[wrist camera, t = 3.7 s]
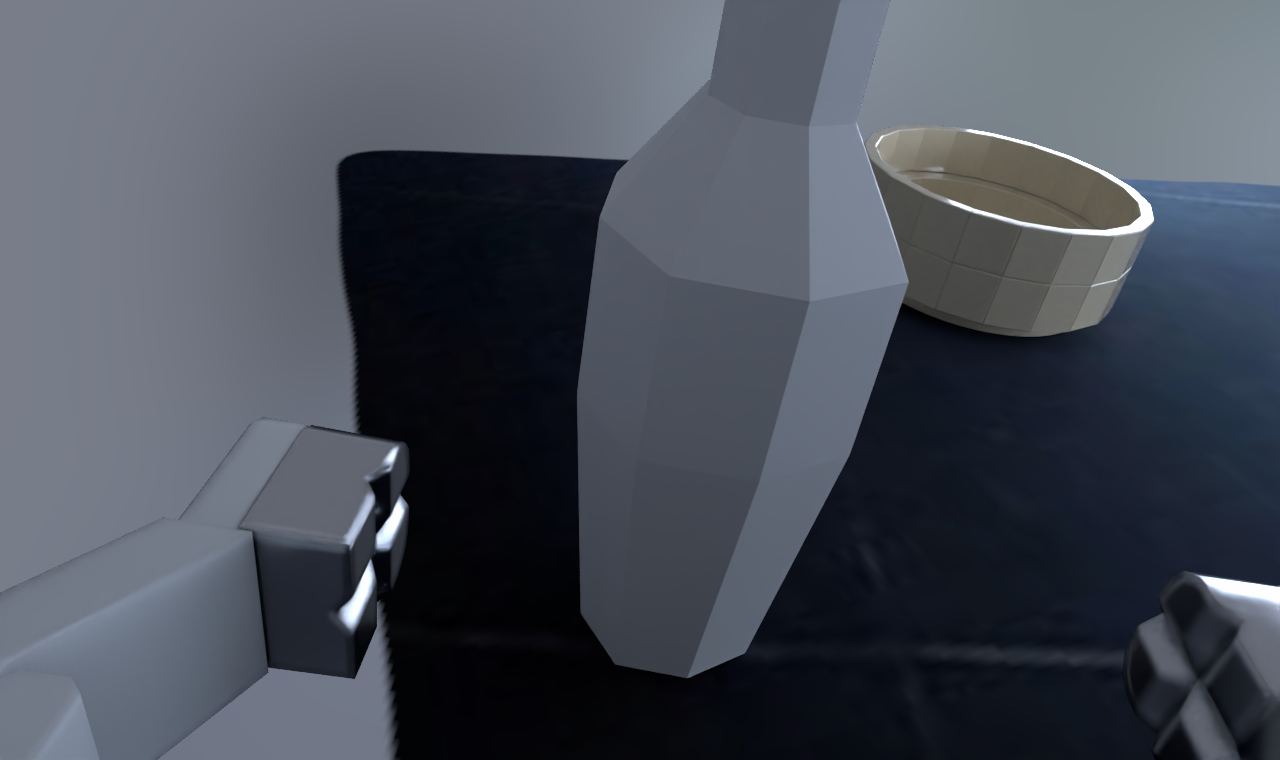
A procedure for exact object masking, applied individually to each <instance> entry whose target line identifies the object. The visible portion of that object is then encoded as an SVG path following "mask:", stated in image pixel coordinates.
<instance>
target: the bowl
mask: <svg viewBox="0 0 1280 760" xmlns="http://www.w3.org/2000/svg"><path fill="white" fill-rule="evenodd" d="M864 146H865V149H866V152H867V155H868V158H869V161H870V164H871V167H872V170H873V173H874V175H875V178H876V181H877V184H878V187H879V190H880V193H881V196H882V199H883V202H884V205H885V208H886V211H887V214H888V217H889V220H890V222H891V225H892V228H893V231H894V235H895V238H896V241H897V245H898V248H899V251H900V255H901V258H902V261H903V264H904V268H905V271H906V274H907V278H908V281H909V283H908V286H907V289H906V292H905V295H904V298H903V301H902V303H904V304H906V305H908V306H910V307H912V308H914V309H916V310H918V311H920V312H923V313H925V314H927V315H930V316H932V317H935V318H938V319H940V320H943V321H946V322H949V323H952V324H956V325H959V326H962V327H966V328H970V329H974V330H978V331H983V332H988V333H994V334H1001V335H1008V336H1022V337H1039V336H1049V335H1054V334H1059V333H1062V332H1070V331H1074V330H1078V329H1082V328H1085V327H1089V326H1093V325H1096V324H1098V323H1099V322H1100V321H1101V320H1102V319H1103V318H1104V317H1105V316H1106V315H1107V314H1108V313H1109V312H1110V310H1111V308H1112V306H1113V304H1114V302H1115V300H1116V298H1117V296H1118V294H1119V292H1120V290H1121V288H1122V286H1123V284H1124V282H1125V280H1126V278H1127V275H1128V273H1129V271H1130V269H1131V267H1132V265H1133V263H1134V261H1135V259H1136V257H1137V255H1138V253H1139V251H1140V249H1141V247H1142V245H1143V243H1144V241H1145V239H1146V237H1147V235H1148V232H1149V230H1150V228H1151V226H1152V224H1153V222H1154V217H1153V213H1152V209H1151V205H1150V204H1149V203H1148V202H1147V201H1146V200H1145V199H1144V198H1143V197H1142V196H1141V195H1140V194H1139V193H1138V192H1137V191H1136V190H1135V189H1133V188H1132V187H1130V186H1128V185H1127V184H1125V183H1123V182H1122V181H1120V180H1118V179H1117V178H1115V177H1113V176H1112V175H1110V174H1108V173H1107V172H1105V171H1102V170H1100V169H1098V168H1095V167H1093V166H1091V165H1089V164H1087V163H1084V162H1082V161H1080V160H1078V159H1075V158H1073V157H1070V156H1068V155H1065V154H1062V153H1059V152H1055V151H1053V150H1050V149H1047V148H1044V147H1041V146H1038V145H1035V144H1031V143H1028V142H1024V141H1020V140H1016V139H1012V138H1008V137H1005V136H1001V135H996V134H991V133H986V132H981V131H975V130H969V129H963V128H957V127H946V126H933V125H906V126H892V127H888V128H885V129H882V130H880V131H876V132H873V133H872V134H871V135H870V136H869V138H868V139H867V141H866V142H865V143H864Z"/></svg>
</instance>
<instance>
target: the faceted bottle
mask: <svg viewBox="0 0 1280 760" xmlns="http://www.w3.org/2000/svg"><path fill="white" fill-rule="evenodd" d="M889 2H890V0H725V4H724V9H723V15H722V20H721V25H720V31H719V36H718V42H717V47H716V53H715V58H714V64H713V70H712V75H711V79H710V80H709V81H708V82H707V83H706V84H705V85H704V86H703V87H702V88H701V89H700V90H699V91H698V92H697V93H696V94H695V95H694V96H693V97H692V98H691V99H690V100H689V101H688V102H687V103H686V104H685V105H684V106H683V107H682V108H681V109H680V110H679V111H678V112H677V113H676V114H675V115H674V116H673V117H672V118H671V119H670V120H669V121H668V122H667V123H666V124H665V125H664V126H663V127H662V128H661V129H660V130H659V131H658V132H657V133H656V134H655V135H654V136H653V137H652V138H651V139H650V140H649V141H648V142H647V143H646V144H645V145H644V146H643V147H642V148H641V149H640V150H639V151H638V152H637V153H636V154H635V155H634V156H633V157H632V158H631V159H630V160H629V161H628V162H627V163H626V164H625V165H624V166H623V167H622V168H621V169H620V170H619V171H618V172H617V173H616V176H615V179H614V181H613V184H612V186H611V189H610V192H609V194H608V197H607V199H606V202H605V205H604V207H603V210H602V212H601V215H600V218H599V226H598V234H597V242H596V250H595V258H594V265H593V273H592V281H591V289H590V297H589V305H588V312H587V320H586V328H585V336H584V344H583V352H582V359H581V367H580V375H579V383H578V391H577V410H578V475H579V539H580V604H581V614H582V616H583V617H584V619H585V620H586V622H587V623H588V625H589V626H590V628H591V629H592V631H593V632H594V634H595V635H596V637H597V638H598V640H599V641H600V642H601V644H602V645H603V647H604V648H605V650H606V651H607V653H608V654H609V656H610V657H611V659H612V660H613V662H614V663H615V665H620V666H626V667H631V668H636V669H642V670H647V671H652V672H658V673H663V674H668V675H674V676H679V677H684V678H689V677H691V676H694V675H696V674H698V673H700V672H703V671H705V670H707V669H710V668H712V667H714V666H717V665H719V664H721V663H723V662H726V661H728V660H730V659H733V658H735V657H737V656H740V655H742V654H744V653H745V652H746V650H747V648H748V646H749V645H750V643H751V641H752V639H753V637H754V635H755V633H756V631H757V629H758V627H759V626H760V624H761V622H762V620H763V618H764V616H765V614H766V612H767V610H768V608H769V607H770V605H771V603H772V601H773V599H774V597H775V595H776V593H777V591H778V589H779V588H780V586H781V584H782V582H783V580H784V578H785V576H786V574H787V572H788V571H789V569H790V567H791V565H792V563H793V561H794V559H795V557H796V555H797V553H798V552H799V550H800V548H801V546H802V544H803V542H804V540H805V538H806V536H807V534H808V533H809V531H810V529H811V527H812V525H813V523H814V521H815V519H816V517H817V516H818V514H819V512H820V510H821V508H822V506H823V504H824V502H825V500H826V498H827V497H828V495H829V493H830V491H831V489H832V487H833V485H834V483H835V481H836V479H837V478H838V476H839V474H840V472H841V470H842V468H843V466H844V464H845V462H846V460H847V459H848V457H849V455H850V452H851V449H852V446H853V443H854V441H855V438H856V435H857V432H858V429H859V426H860V423H861V420H862V417H863V414H864V411H865V409H866V406H867V403H868V400H869V397H870V394H871V391H872V388H873V385H874V382H875V379H876V376H877V374H878V371H879V368H880V365H881V362H882V359H883V356H884V353H885V350H886V347H887V344H888V342H889V339H890V336H891V333H892V330H893V327H894V324H895V321H896V318H897V315H898V312H899V309H900V307H901V304H902V301H903V298H904V295H905V292H906V289H907V286H908V283H909V281H908V278H907V274H906V271H905V268H904V264H903V261H902V258H901V255H900V251H899V248H898V245H897V241H896V238H895V235H894V231H893V228H892V225H891V222H890V220H889V217H888V214H887V211H886V208H885V205H884V202H883V199H882V196H881V193H880V190H879V187H878V184H877V181H876V178H875V175H874V173H873V170H872V167H871V164H870V161H869V158H868V155H867V152H866V149H865V146H864V143H863V140H862V137H861V134H860V131H859V128H858V125H857V123H856V122H857V118H858V115H859V111H860V108H861V104H862V100H863V97H864V93H865V89H866V86H867V82H868V78H869V75H870V71H871V68H872V64H873V61H874V57H875V53H876V50H877V46H878V42H879V38H880V35H881V32H882V28H883V25H884V21H885V17H886V14H887V10H888V6H889Z"/></svg>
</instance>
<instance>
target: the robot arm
mask: <svg viewBox="0 0 1280 760" xmlns="http://www.w3.org/2000/svg"><path fill="white" fill-rule="evenodd" d="M408 475H409V449H408V447H407V446H406V444H405V443H404V442H399V441H394V440H388V439H383V438H378V437H372V436H367V435H362V434H356V433H351V432H346V431H340V430H335V429H330V428H324V427H319V426H314V425H311V426H308V425H305V424H299V423H294V422H288V421H283V420H277V419H272V418H266V417H262V418H260V419H258V420H256V421H254V422H252V423H251V424H250V425H249V426H248V427H247V429H246V430H245V431H244V433H243V434H242V435H241V437H240V438H239V439H238V441H237V442H236V443H235V445H234V446H233V447H232V449H231V450H230V451H229V453H228V454H227V456H226V457H225V458H224V459H223V461H222V462H221V463H220V465H219V466H218V467H217V469H216V470H215V471H214V473H213V474H212V475H211V477H210V478H209V479H208V481H207V482H206V483H205V485H204V486H203V487H202V489H201V490H200V492H199V493H198V494H197V495H196V497H195V498H194V500H193V501H192V502H191V504H190V505H189V506H188V507H187V509H186V510H185V511H184V513H183V514H182V515H181V517H180V518H179V519H171V518H164V517H163V518H161V519H159V520H156V521H154V522H152V523H150V524H148V525H146V526H143V527H141V528H139V529H137V530H135V531H133V532H130V533H128V534H126V535H124V536H122V537H120V538H118V539H116V540H113V541H111V542H109V543H107V544H105V545H102V546H100V547H98V548H96V549H94V550H92V551H90V552H87V553H85V554H83V555H81V556H79V557H77V558H74V559H72V560H70V561H68V562H66V563H64V564H61V565H59V566H57V567H55V568H53V569H51V570H48V571H46V572H44V573H42V574H40V575H38V576H35V577H33V578H31V579H29V580H27V581H25V582H23V583H20V584H19V585H16V586H14V587H12V588H9V589H7V590H5V591H3V592H1V593H0V760H157V759H159V758H160V757H161V756H162V755H164V754H165V753H166V752H167V751H169V750H170V749H171V748H173V747H174V746H175V745H176V744H178V743H179V742H180V741H182V740H183V739H184V738H185V737H187V736H188V735H189V734H190V733H192V732H193V731H194V730H196V729H197V728H198V727H199V726H201V725H202V724H203V723H205V722H206V721H207V720H208V719H210V718H211V717H212V716H213V715H215V714H216V713H217V712H219V711H220V710H221V709H222V708H224V707H225V706H226V705H227V704H229V703H230V702H231V701H233V700H234V699H235V698H236V697H237V696H239V695H240V694H242V693H243V692H244V691H245V690H247V689H248V688H249V687H250V686H252V685H253V684H254V683H255V682H257V681H258V680H259V679H261V678H262V677H263V676H264V675H266V674H267V673H268V667H269V668H276V669H284V670H291V671H299V672H307V673H315V674H322V675H330V676H338V677H345V678H352V679H355V677H356V675H357V672H358V670H359V668H360V665H361V663H362V661H363V658H364V656H365V653H366V651H367V649H368V646H369V644H370V642H371V639H372V637H373V634H374V632H375V630H376V627H377V602H378V601H379V600H381V599H382V598H384V597H385V596H387V595H388V594H390V593H391V591H392V588H393V586H394V583H395V581H396V578H397V575H398V573H399V570H400V566H401V562H402V558H403V554H404V550H405V546H406V539H407V531H408V521H409V506H408V505H407V503H406V502H405V501H404V499H403V498H402V497H401V496H400V493H401V491H402V489H403V487H404V484H405V482H406V480H407V478H408ZM1158 599H1159V603H1160V607H1161V610H1162V614H1160V615H1158V616H1156V617H1154V618H1152V619H1150V620H1148V621H1147V622H1145V623H1143V624H1141V625H1139V626H1138V627H1137V629H1136V631H1135V633H1134V634H1133V636H1132V638H1131V639H1130V641H1129V643H1128V644H1127V646H1126V648H1125V656H1124V664H1123V671H1122V673H1123V679H1124V685H1125V691H1126V694H1127V697H1128V699H1129V702H1130V704H1131V706H1132V709H1133V711H1134V713H1135V714H1136V715H1137V716H1138V717H1139V718H1140V719H1141V720H1142V721H1143V722H1144V723H1145V724H1146V725H1148V726H1149V727H1150V728H1151V729H1152V730H1153V731H1154V732H1155V733H1156V734H1157V737H1156V740H1155V743H1154V745H1153V748H1152V751H1151V752H1152V754H1153V756H1154V758H1155V760H1280V586H1273V585H1268V584H1261V583H1255V582H1249V581H1242V580H1236V579H1230V578H1223V577H1217V576H1211V575H1204V574H1198V573H1192V572H1186V571H1183V572H1181V573H1179V574H1178V575H1176V576H1175V577H1173V578H1171V579H1170V580H1169V581H1168V582H1167V584H1166V585H1165V587H1164V588H1163V590H1162V591H1161V593H1160V594H1159V596H1158Z"/></svg>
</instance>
